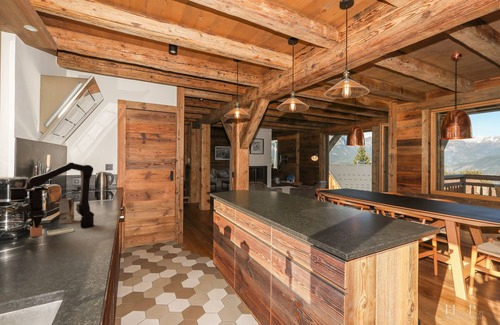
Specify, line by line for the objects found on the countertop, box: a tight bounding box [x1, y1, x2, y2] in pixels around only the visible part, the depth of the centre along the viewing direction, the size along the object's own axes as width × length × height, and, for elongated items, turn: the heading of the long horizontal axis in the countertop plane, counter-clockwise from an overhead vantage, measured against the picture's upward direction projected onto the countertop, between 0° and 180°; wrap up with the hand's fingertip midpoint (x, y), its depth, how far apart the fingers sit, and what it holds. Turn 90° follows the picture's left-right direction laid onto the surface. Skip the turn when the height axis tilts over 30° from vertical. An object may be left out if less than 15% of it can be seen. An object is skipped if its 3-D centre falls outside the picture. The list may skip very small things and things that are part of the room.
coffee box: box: [58, 197, 75, 225], centre depth 163 cm, size 9×6×16 cm
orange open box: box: [29, 224, 44, 238], centre depth 135 cm, size 5×5×5 cm
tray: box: [46, 227, 75, 237], centre depth 140 cm, size 12×9×1 cm
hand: (36, 226), depth 135 cm, fingers open, 9 cm apart
